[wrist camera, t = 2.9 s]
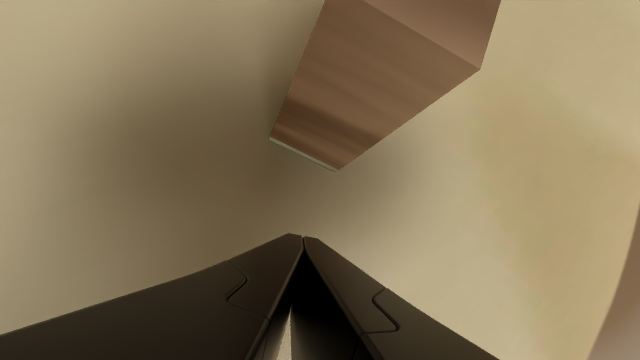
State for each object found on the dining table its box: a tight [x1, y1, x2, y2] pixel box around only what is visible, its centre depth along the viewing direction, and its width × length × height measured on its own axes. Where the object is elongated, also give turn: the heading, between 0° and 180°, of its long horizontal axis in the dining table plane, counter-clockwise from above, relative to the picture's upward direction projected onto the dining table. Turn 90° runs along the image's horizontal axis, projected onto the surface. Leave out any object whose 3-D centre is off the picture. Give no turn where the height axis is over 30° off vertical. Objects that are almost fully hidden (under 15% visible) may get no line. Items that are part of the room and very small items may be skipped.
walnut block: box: [269, 0, 501, 172], centre depth 17 cm, size 5×5×14 cm
